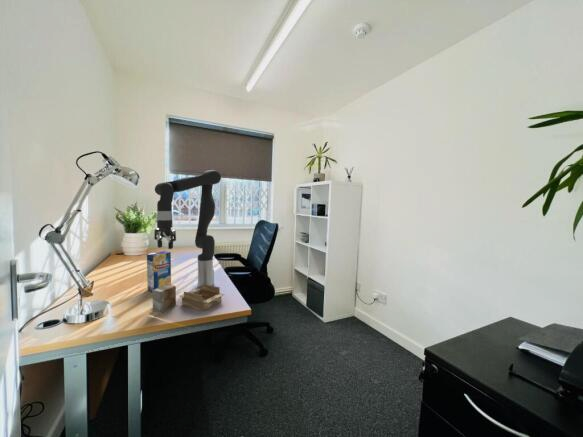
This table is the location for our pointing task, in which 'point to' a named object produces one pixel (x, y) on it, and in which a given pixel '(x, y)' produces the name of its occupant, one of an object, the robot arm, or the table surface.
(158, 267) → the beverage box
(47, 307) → the table surface
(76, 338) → the table surface
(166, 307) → the walnut block
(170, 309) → the felt mat
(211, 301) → the kraft carton
